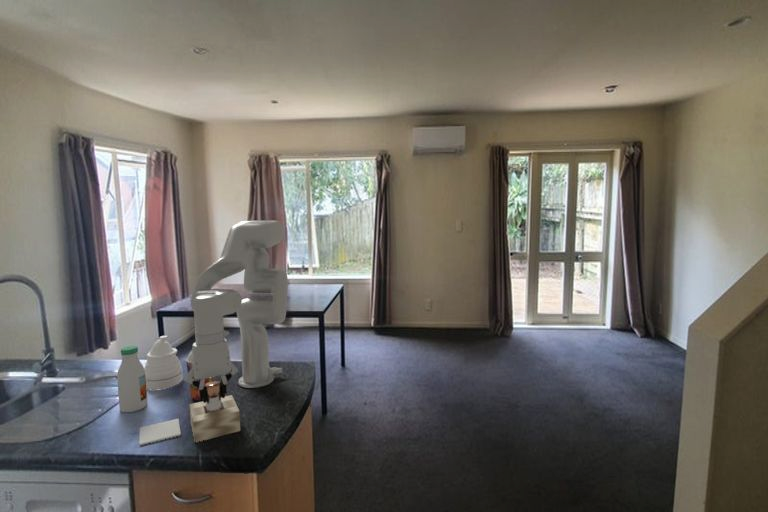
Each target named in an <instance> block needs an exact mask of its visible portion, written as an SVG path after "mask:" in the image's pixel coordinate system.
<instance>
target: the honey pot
mask: <svg viewBox="0 0 768 512" xmlns="http://www.w3.org/2000/svg"><path fill="white" fill-rule="evenodd" d="M167 340H168V335H161V336H159V339H158V340H156V341H155V342H154V344H153V345H152V346H151V349H150V351H149V352H148V353H147V354H146V357H147V359H146V362H145V364H144V365H145V366H143V367H144V370H145V378H146V389H151V390H150V391H158V390H157V389H163V390H165V389H164V388H168V389H170V388H169V387H171V386H174V387H175V385H176V384H178V385H180V384H181V383H182V382H183V381H182V380H184V378H183V375H184V374H183V366H182V364H181V362H180V360H179V357H178V356H177V353H178V349H177V348H175V347H172V345H171V344H170V343H169V342H168V341H167ZM181 381H182V382H181ZM180 382H181V383H180ZM179 383H180V384H179ZM176 386H177V385H176ZM171 388H172V387H171Z"/></svg>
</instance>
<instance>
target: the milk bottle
mask: <svg viewBox="0 0 768 512" xmlns="http://www.w3.org/2000/svg"><path fill="white" fill-rule="evenodd" d="M138 351H139V349H138V346H137V345H128V346H124V347H122V348H121V349H120V356H121V357H122V358H121V362H120V364H119V367H118V370H117V373H116V374H117V375H116V377H117V379H116V380H117V393H118V395H117V396H118V405H119V411H121V412H122V413H134V412H137V411H140V410H142V409H144V408H145V407H146V406H147V405H148V393H147V391H148V390H146V378H145V370H144V367H145V366H144V365H143V364H142V362H141V361H140V358H139V357H138V354H139V352H138Z"/></svg>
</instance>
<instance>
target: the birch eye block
mask: <svg viewBox="0 0 768 512" xmlns="http://www.w3.org/2000/svg"><path fill="white" fill-rule="evenodd" d="M188 406H189V418H190V422H189V423H190V426H191V427H192V428H191V431H192V432H193V433H192V432H191V433H192V436H193V437H194V438H193V442H194V443H195V442H196V443H199V441H200V442H204V441H207V440H211V439H214V438H215V439H216V438H219V437H222V436H225V435H229V434H233V433H238V432H240V431H241V419H240V418H241V416H240V409H239V407H238V405H237V402H236V401H235V399H234V396H233V395H232V394H231V395H225V398H222V397H221V408H222V410H218V411H214V412H210V413H207V408H206V402H205V403H204V402H203V400H202V401H198V402H194V403H190V404H189V405H188ZM203 440H204V441H203Z"/></svg>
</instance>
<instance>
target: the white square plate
mask: <svg viewBox="0 0 768 512" xmlns="http://www.w3.org/2000/svg"><path fill="white" fill-rule="evenodd" d="M181 434H182V433H181V427H180V420H179V418H175V419H170V420H166V421H162V422H158V423H153V424H149V425H145V426H141V427H139V443H138V444H139V445H143V446H145V445H144V444H147V445H149V444H148V443H151V444H153V443H152V442H154V443H157V442H156V441H158V442H162V441H166V440H170V439H174V438H177V437H176V436H178V437H181V436H182V435H181ZM180 435H181V436H180ZM173 437H174V438H173ZM169 438H170V439H169ZM165 439H166V440H165ZM161 440H162V441H161Z"/></svg>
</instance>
